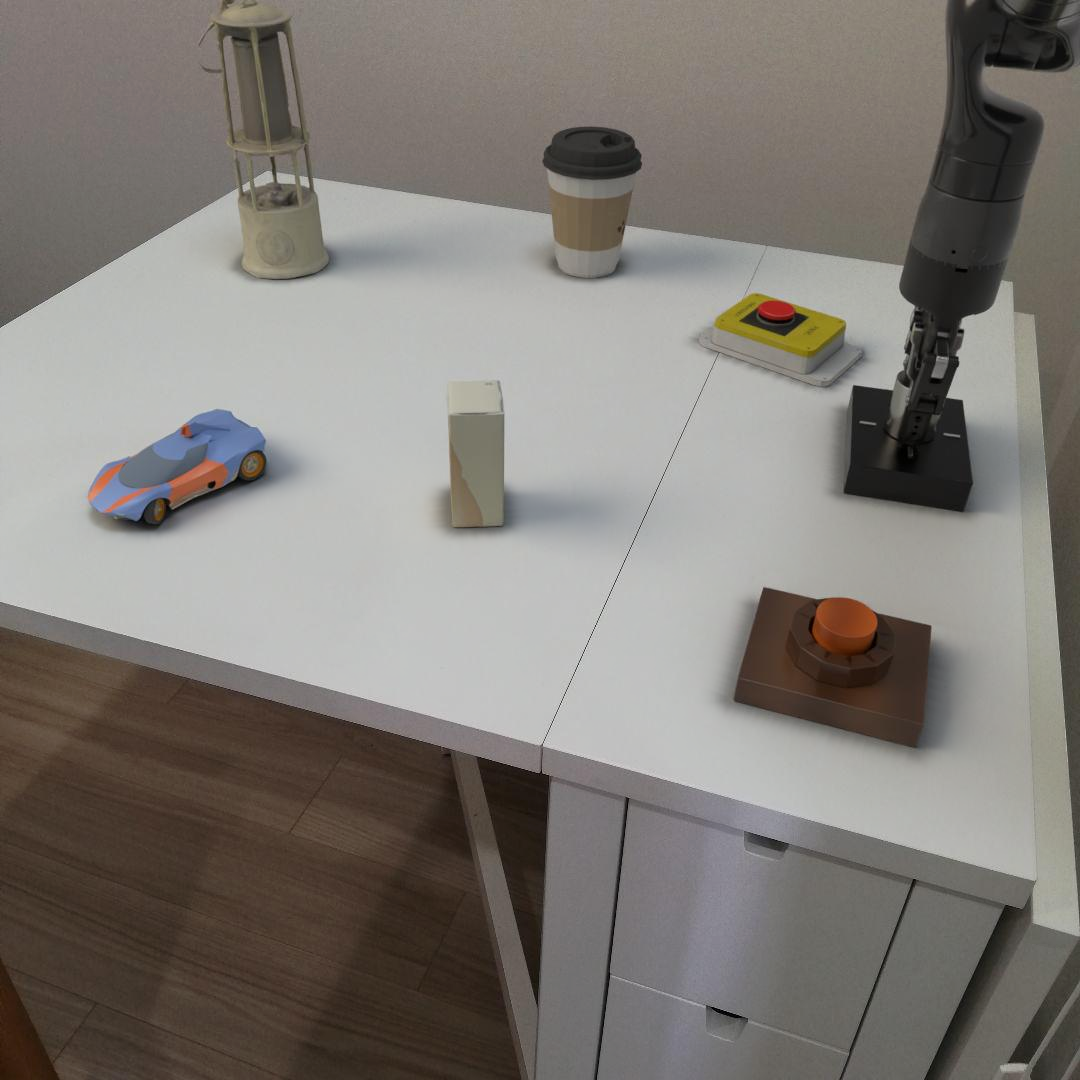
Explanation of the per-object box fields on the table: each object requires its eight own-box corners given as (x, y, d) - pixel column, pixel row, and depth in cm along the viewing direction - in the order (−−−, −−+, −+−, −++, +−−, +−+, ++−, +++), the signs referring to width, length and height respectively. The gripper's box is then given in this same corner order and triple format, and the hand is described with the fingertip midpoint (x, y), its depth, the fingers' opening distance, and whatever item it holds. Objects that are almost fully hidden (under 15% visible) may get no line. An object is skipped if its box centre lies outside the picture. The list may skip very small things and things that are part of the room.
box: (450, 492, 90) (446, 378, 83) (501, 490, 90) (500, 376, 84) (452, 530, 86) (447, 413, 79) (505, 528, 86) (505, 411, 79)
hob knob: (882, 438, 93) (896, 385, 89) (885, 413, 96) (899, 361, 93) (934, 447, 92) (950, 394, 88) (935, 422, 95) (951, 369, 92)
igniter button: (874, 624, 73) (880, 605, 72) (869, 662, 70) (874, 643, 69) (816, 610, 74) (820, 591, 73) (808, 647, 71) (812, 628, 70)
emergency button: (743, 276, 115) (872, 316, 108) (738, 313, 118) (863, 354, 111) (700, 305, 110) (833, 349, 103) (695, 343, 112) (825, 389, 105)
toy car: (73, 504, 88) (56, 450, 84) (226, 434, 96) (216, 382, 93) (126, 546, 83) (110, 490, 80) (281, 468, 92) (272, 416, 89)
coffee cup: (637, 287, 123) (647, 157, 114) (539, 284, 123) (542, 154, 114) (631, 247, 132) (640, 124, 123) (540, 245, 132) (542, 122, 123)
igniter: (924, 647, 76) (938, 606, 74) (915, 748, 69) (930, 705, 66) (758, 608, 79) (767, 567, 77) (733, 700, 72) (741, 658, 69)
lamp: (284, 287, 121) (244, -1, 102) (208, 258, 127) (157, -19, 108) (347, 258, 128) (320, -18, 109) (272, 232, 133) (234, -34, 115)
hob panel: (963, 511, 89) (973, 481, 87) (843, 493, 91) (850, 462, 89) (954, 427, 100) (963, 398, 98) (846, 411, 102) (853, 383, 100)
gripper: (908, 204, 89) (864, 381, 100) (914, 273, 78) (865, 463, 89) (1001, 214, 88) (947, 392, 98) (1021, 286, 77) (957, 477, 87)
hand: (908, 425), depth 94 cm, fingers open, 5 cm apart
